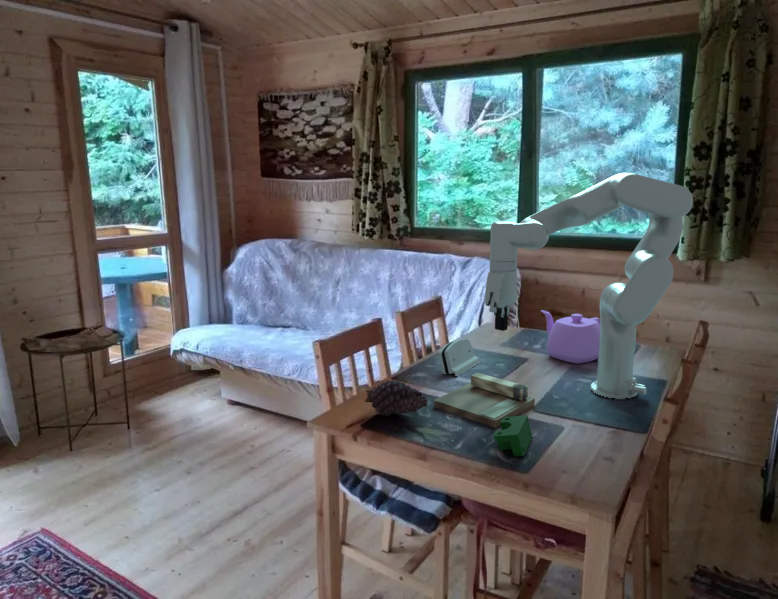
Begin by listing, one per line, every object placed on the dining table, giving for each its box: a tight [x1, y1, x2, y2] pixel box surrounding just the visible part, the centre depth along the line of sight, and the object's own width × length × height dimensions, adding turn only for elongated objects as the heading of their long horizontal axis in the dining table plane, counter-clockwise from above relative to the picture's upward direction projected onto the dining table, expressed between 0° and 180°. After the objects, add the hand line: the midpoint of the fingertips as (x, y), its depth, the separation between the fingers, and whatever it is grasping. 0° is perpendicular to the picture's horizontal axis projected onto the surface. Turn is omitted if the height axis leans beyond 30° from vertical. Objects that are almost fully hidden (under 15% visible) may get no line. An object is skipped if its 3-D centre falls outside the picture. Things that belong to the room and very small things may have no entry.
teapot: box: [540, 309, 600, 365], centre depth 201 cm, size 23×21×15 cm
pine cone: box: [364, 379, 428, 418], centre depth 154 cm, size 18×10×10 cm, turn 68°
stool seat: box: [433, 382, 536, 429], centre depth 161 cm, size 20×19×2 cm
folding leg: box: [470, 372, 529, 400], centre depth 164 cm, size 17×4×3 cm, turn 47°
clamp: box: [492, 414, 533, 457], centre depth 138 cm, size 12×6×9 cm, turn 151°
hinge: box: [438, 339, 481, 377], centre depth 191 cm, size 17×5×10 cm, turn 144°
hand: (501, 329), depth 168 cm, fingers closed
